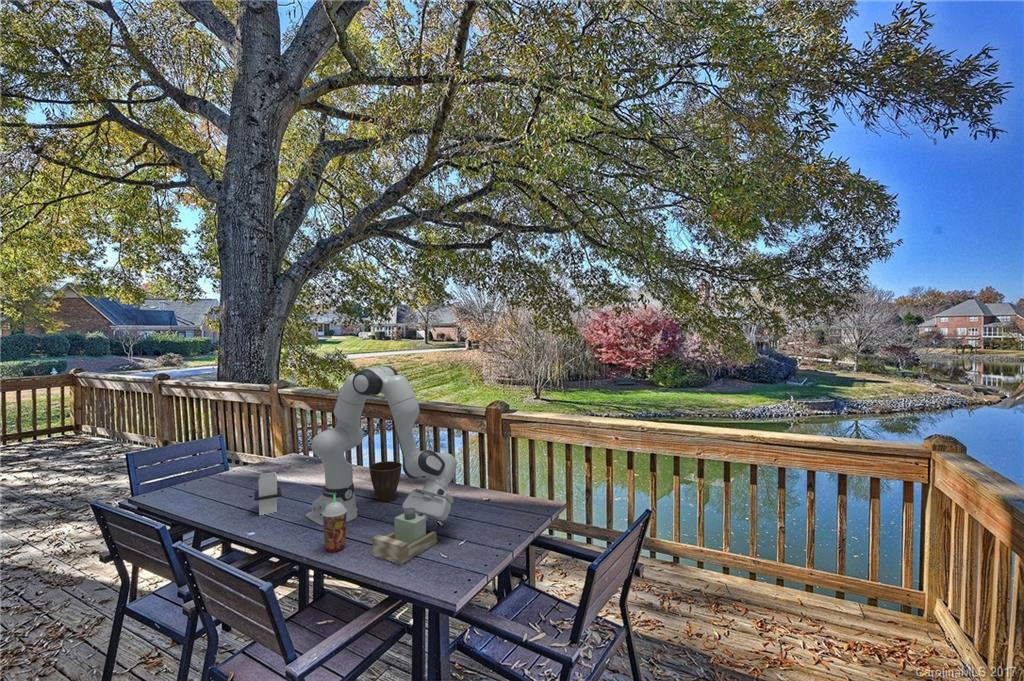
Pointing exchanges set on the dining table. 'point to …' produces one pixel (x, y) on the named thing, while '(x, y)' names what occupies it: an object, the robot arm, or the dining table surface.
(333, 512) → the smoothie
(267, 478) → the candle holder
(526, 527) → the dining table surface
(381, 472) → the plant pot
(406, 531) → the slider
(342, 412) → the robot arm
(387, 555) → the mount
